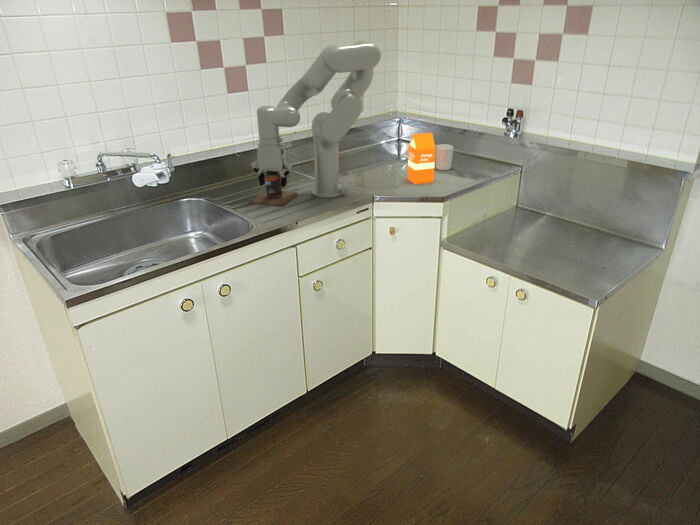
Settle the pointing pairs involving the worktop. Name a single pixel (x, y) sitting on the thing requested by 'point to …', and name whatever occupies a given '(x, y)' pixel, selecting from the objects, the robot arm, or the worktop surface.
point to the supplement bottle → (273, 184)
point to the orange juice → (421, 158)
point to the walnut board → (273, 199)
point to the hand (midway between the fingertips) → (273, 185)
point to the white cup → (444, 156)
